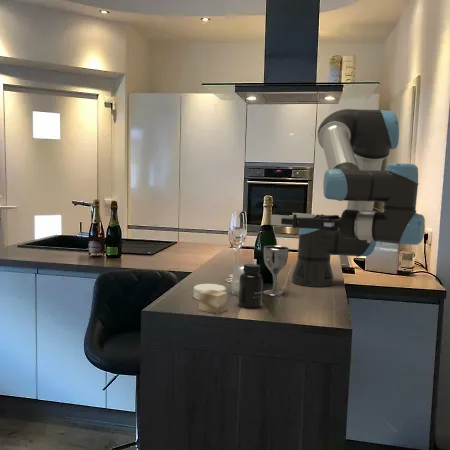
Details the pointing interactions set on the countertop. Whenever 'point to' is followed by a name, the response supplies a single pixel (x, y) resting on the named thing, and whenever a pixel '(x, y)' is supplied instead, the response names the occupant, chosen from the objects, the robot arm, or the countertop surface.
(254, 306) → the supplement bottle
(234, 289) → the frosted glass cup
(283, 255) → the wine glass
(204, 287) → the brie cheese wheel
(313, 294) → the countertop surface
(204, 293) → the maple block
